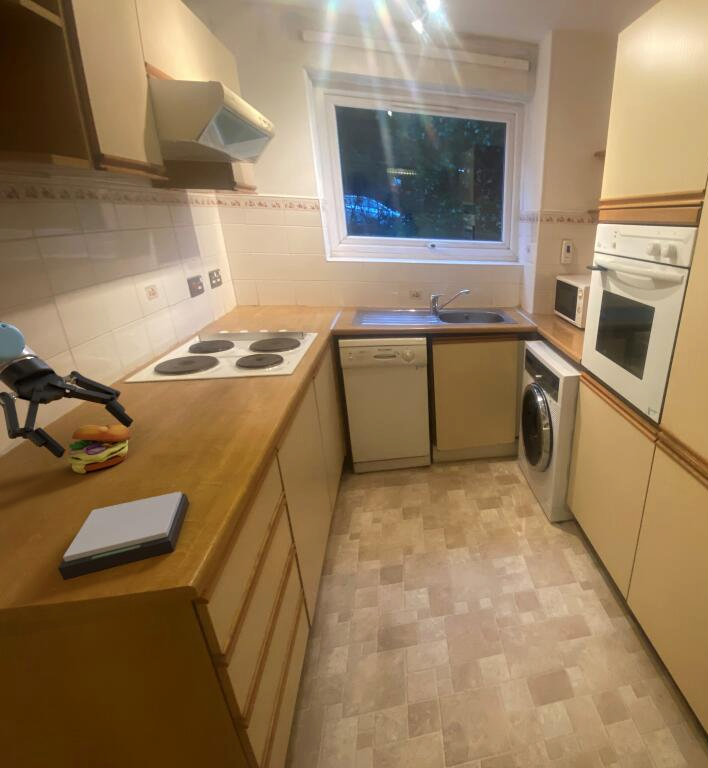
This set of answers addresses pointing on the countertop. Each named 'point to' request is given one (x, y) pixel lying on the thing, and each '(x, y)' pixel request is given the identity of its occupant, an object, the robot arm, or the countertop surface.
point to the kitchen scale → (126, 534)
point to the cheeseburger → (98, 447)
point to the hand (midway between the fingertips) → (98, 438)
